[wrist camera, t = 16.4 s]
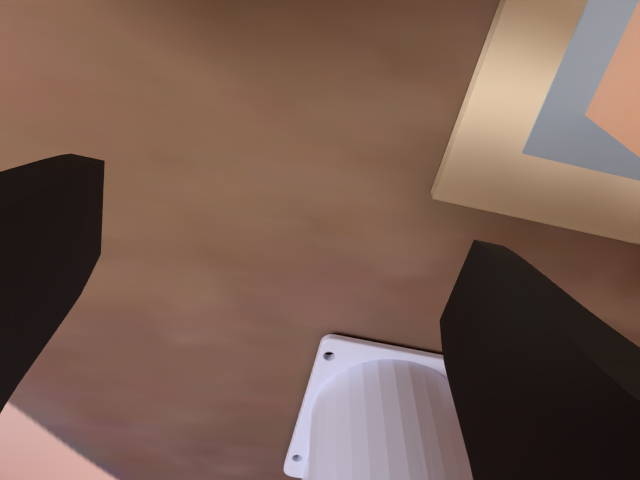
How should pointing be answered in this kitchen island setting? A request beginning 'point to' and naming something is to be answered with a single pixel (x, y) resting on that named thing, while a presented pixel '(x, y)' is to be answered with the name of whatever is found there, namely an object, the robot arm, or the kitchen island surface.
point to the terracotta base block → (621, 90)
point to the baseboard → (544, 122)
